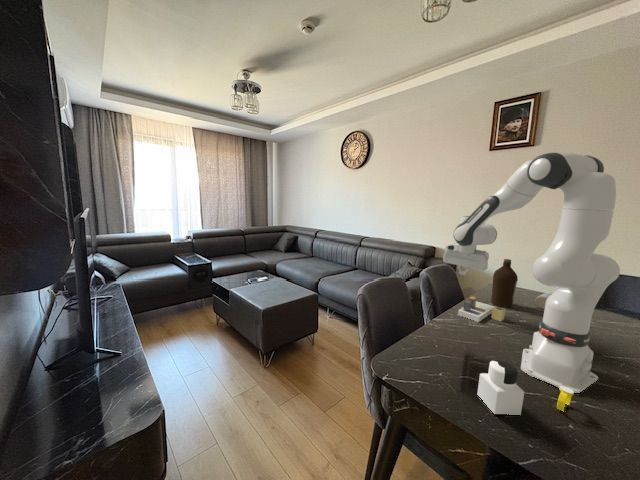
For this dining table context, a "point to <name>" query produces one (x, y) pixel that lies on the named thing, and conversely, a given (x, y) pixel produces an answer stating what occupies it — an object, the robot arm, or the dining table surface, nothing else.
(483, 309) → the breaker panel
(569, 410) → the dining table surface
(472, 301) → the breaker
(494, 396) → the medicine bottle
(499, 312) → the tan block with knob
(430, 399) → the dining table surface
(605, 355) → the dining table surface
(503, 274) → the olive oil
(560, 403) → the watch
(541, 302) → the ceramic mug
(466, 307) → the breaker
